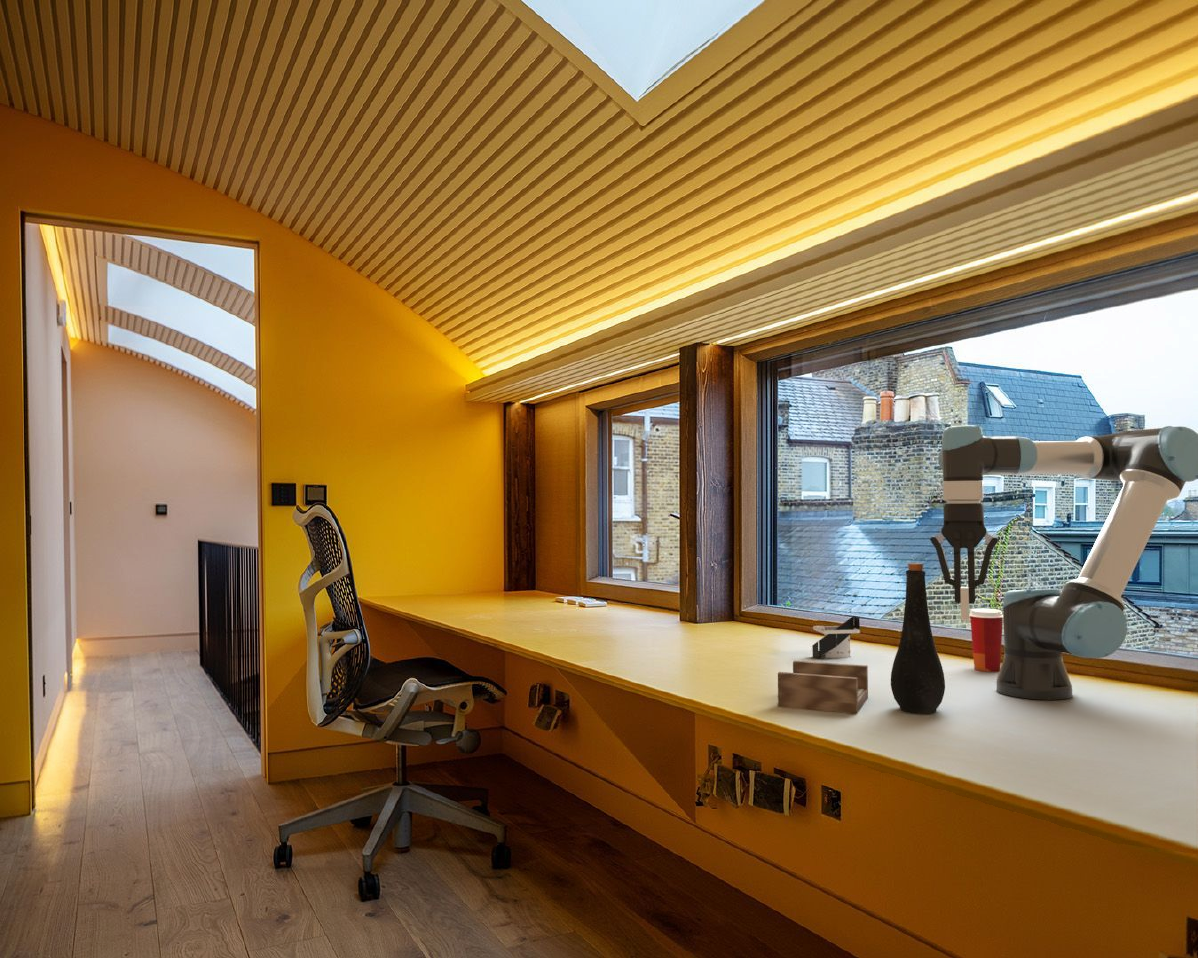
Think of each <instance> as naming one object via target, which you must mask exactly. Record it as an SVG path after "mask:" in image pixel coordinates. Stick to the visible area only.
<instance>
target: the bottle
mask: <svg viewBox="0 0 1198 958" xmlns="http://www.w3.org/2000/svg"><path fill="white" fill-rule="evenodd" d="M907 567H908V570H906V571H905V575H906V584H905V586H906V587H905V601H904V611H903V612H904V613H903V621H902V628H901V633H900V634H901V635H900V641H899V644H898V648H897V651H896V654H895V656H894V660H893V663H892V667H891V672H890V689H891V692H892V696H893V699H894V700H895V702H896V703H897V705H898V706H899V711H901V712H904V713H906V714H907V713H908V714H912V715H913V714H914V715H932V714H936V713H937V710H938V708H939V707H940V705H941V704H942V702H943V699H944V695H945V691H946V681H945V680H946V678H945V673H944V669H943V666H942V662H941V659H940V656H939V654H938V651H937V648H936V645H935V641H934V637H933V633H932V626H931V620H930V614H929V613H930V612H929V606H928V601H927V600H928V598H927V587H926V570H923V568H924V563H922V562H921V563H917V562H910V563H907Z"/></svg>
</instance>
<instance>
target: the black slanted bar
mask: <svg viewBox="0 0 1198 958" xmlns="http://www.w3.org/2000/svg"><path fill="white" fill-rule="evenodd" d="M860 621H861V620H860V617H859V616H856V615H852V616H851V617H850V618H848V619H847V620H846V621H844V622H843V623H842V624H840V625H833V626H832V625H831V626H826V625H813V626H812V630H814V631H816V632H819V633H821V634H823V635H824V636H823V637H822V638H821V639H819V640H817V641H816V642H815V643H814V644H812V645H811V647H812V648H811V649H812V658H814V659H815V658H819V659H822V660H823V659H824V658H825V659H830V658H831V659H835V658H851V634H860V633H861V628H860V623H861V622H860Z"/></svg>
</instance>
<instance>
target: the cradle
mask: <svg viewBox="0 0 1198 958" xmlns="http://www.w3.org/2000/svg"><path fill="white" fill-rule="evenodd" d="M868 667H869V666H868V665H867V664H866V665H865V664H853V663H852V664H851V663H850V664H849V663H837V662H836V663H835V662H834V663H833V662H824V661H823V662H819V661H806V660H793V661H792V672H788V671H786V672H785V671H779V672H777V704H778V705H777V707H778V708H789V709H790V708H791V709H799V710H810V711H811V710H812V711H821V710H824V711H823V712H832V711H836V712H835V713H843V712H845V713H844V714H855V715H856V714H858V713H859V712H860V710H861V708H863V706H864V704H865V703H866V701H867V700H868V698H869V680H868V679H869V677H868V676H869V675H868V674H869V672H868V671H869V669H868Z"/></svg>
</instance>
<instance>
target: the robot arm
mask: <svg viewBox="0 0 1198 958" xmlns="http://www.w3.org/2000/svg"><path fill="white" fill-rule="evenodd" d="M941 439H942V441H941V449H940V451H939V453H938V459H937V460H938V465H939V468H940V470H941V471H942V500H943V501H944V502H946V503H944V504H943V510H942V511H943V512H942V513H943V525H942V527H941V529H940V532H939V533H938V534H936V535H933V536H931V537H930V539H929V541H930V543H931V544H932V545H933V547H934V548H935V550H936V553H937V554H936V555H937V558H938V562H939V565H940V569H941V573H942V576H943V577H942V578H943V580H944V583H946V584H947V585H951V586H953V588H954V593H953V594H954V602H955V604H960V621H970V616H969V614H970V604H971V605H972V604H975V602H976V587H978V586H981V585H984V584H985V582H986V578H987V574H988V570H989V567H990V562H991V558H992V553H993V550H994V548H995V546H996V545H997V544H998V542H999V538H998V537H996V536H993V535H992V534H991V533H989V532H988V530H987V528H986V526H985V517H984V516H985V515H984V513H985V512H984V509H985V508H984V505H983V503H982V502H981V501H983V500H984V476H1000V475H1001V476H1007V475H1008V476H1015V475H1016V476H1017V475H1018V476H1020V475H1021V476H1027V475H1028V476H1031V475H1032V476H1035V475H1036V476H1037V475H1038V476H1039V475H1045V476H1048V475H1051V476H1052V475H1077V477H1079V478H1081V479H1084V480H1085V479H1087V480H1088V479H1089V480H1091V479H1094V480H1105V481H1112V482H1122V485H1123V486H1122V488H1121V490H1120V491H1119V494H1118V495H1117V498H1116V500H1115V502H1114V504H1113V506H1112V508H1111V510H1110V513H1109V515H1108V516H1107V518H1106V520H1105V522H1104V524H1103V526H1102V528H1101V530H1100V532H1099V534H1098V536H1097V538H1096V540H1095V542H1094V544H1093V547H1092V548H1091V551H1090V553H1089V554H1088V556H1087V558H1086V561H1085V562H1084V565H1083V567H1082V569H1081V571H1080V572H1079V575H1078V577H1077V578H1076V579H1072V580H1068V581H1067V582H1066V583H1065V584H1064V587H1063V589H1062V591H1061V590H1060V589H1059V588H1038V589H1037V588H1036V589H1035V588H1034V589H1033V588H1032V589H1014V590H1013V589H1012V590H1008V591H1006V592H1005V594H1004V595H1003V604H1002V615H1003V621H1002V625H1003V648H1004V652H1003V653H1004V654H1003V660H1002V661H1001V665H1000V671H998V675H997V677H996V681H995V683H996V691H997V693H1001V694H1003V695H1006V696H1010V697H1015V698H1022V699H1029V700H1042V701H1043V700H1045V701H1046V700H1049V701H1051V700H1054V701H1056V700H1064V699H1069V698H1072V697H1073V686H1072V685H1073V684H1072V682H1071V679H1070V676H1069V674H1068V671H1067V667H1066V665H1065V663H1064V660H1063V654H1064V653H1065V654H1069V655H1073V656H1075V657H1079V658H1083V659H1084V658H1085V659H1087V658H1090V659H1102V658H1105V657H1109V656H1111V655H1112V654H1114V653H1115V652H1117V651H1118V650H1119V649H1120V648H1121V647H1122V645H1123V643H1124V642H1125V640H1126V638H1127V633H1128V626H1127V625H1126V624H1127V623H1128V620H1127V617H1126V615H1125V613H1124V610H1125V608H1126V606H1125V604H1124V601H1123V600H1122V596H1123V593H1124V591H1125V589H1126V587H1127V585H1128V582H1129V580H1130V578H1131V576H1132V574H1133V573H1134V571H1135V568H1136V566H1137V563H1138V562H1139V561H1140V558H1141V556H1142V554H1143V551H1144V550H1145V548H1146V545H1147V543H1148V542H1149V539H1150V537H1151V535H1152V533H1153V532H1154V529H1155V527H1156V525H1157V523H1158V521H1159V518H1160V517H1161V515H1162V512H1163V510H1164V508H1165V506H1166V504H1167V502H1168V501H1169V500H1173V499H1177V498H1179V496H1180V494H1181V493H1182V491H1183V488H1184V486H1185V484H1186V483H1187V482H1194V481H1196V480H1198V433H1197V432H1196V431H1195V430H1194V429H1192V428H1189V427H1187V426H1171V425H1168V426H1167V425H1166V426H1163V427H1159V428H1145V429H1136V430H1127V431H1120V432H1116V433H1110V434H1105V435H1096V436H1082V437H1080V438H1078V439H1077V440H1040V441H1039V440H1035V441H1034V440H1032V439H1030V438H1029V437H1022V436H1017V435H1014V436H986V435H985V436H984V434H983V429H982V427H981V426H978V425H954V426H948V427H946V428H945V429H943V433H942V437H941ZM984 538H985V540H984V544H985V545H986V548H985V551H984V555H983V558H982V559H983V560H982V563H981V567H980V571H979V576H978V578H977V579H976V573H975V572H976V570H975V569H976V568H975V567H976V565H975V564H976V561H975V548H977V547H978V545H979V544H980V543H981V541H982V540H983V539H984ZM944 539H945V540H946V542H948V544H949V545H950V546H951V548H953V578H952V577H951V572H950V568H949V566H948V562H947V558H946V554H945V550H944V547H943V545H942V544H944ZM962 549H967V581H968V582H967V586H962V557H961V556H962Z"/></svg>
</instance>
